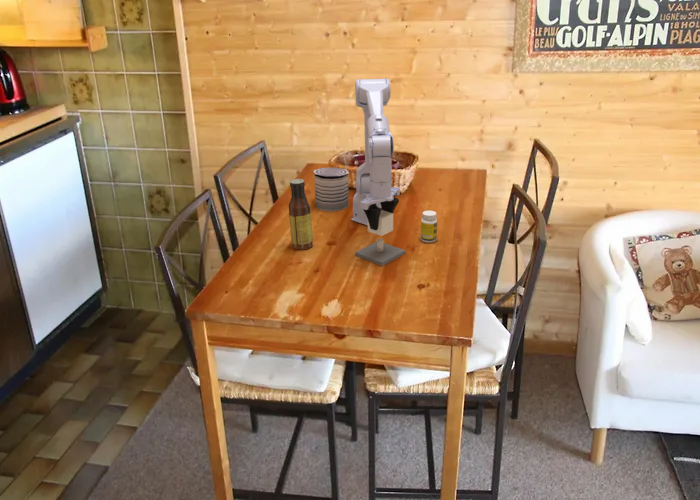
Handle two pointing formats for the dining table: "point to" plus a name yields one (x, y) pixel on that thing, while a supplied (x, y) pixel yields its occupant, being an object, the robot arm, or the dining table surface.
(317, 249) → the dining table surface
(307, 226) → the sauce bottle
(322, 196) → the can
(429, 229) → the supplement bottle
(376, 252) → the base plate
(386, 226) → the box
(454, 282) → the dining table surface
